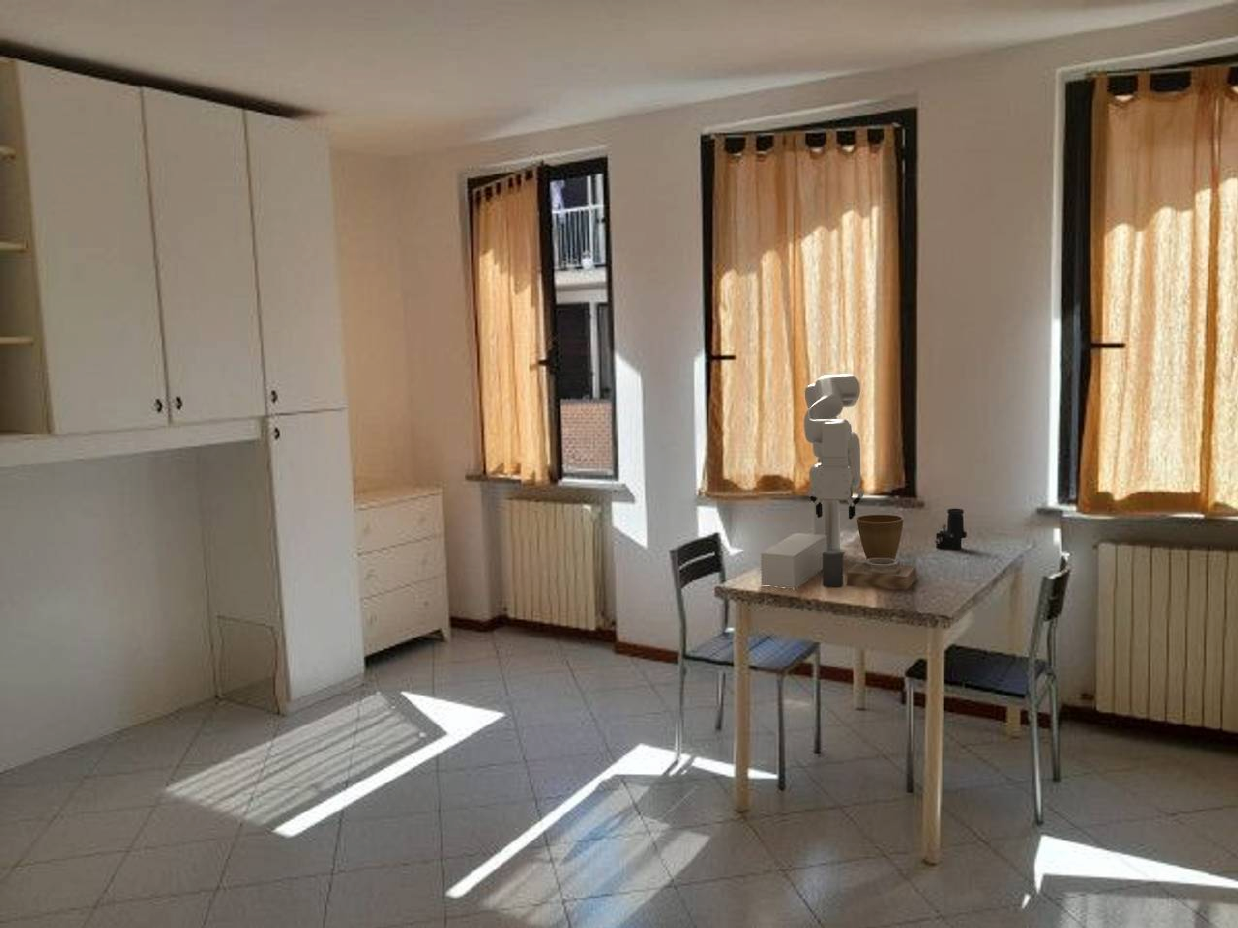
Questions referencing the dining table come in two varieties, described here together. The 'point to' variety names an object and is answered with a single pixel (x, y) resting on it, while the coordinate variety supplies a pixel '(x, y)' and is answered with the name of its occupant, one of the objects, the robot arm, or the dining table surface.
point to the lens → (833, 569)
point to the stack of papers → (793, 560)
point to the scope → (952, 531)
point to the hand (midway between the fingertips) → (835, 517)
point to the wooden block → (881, 574)
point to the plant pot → (880, 535)
